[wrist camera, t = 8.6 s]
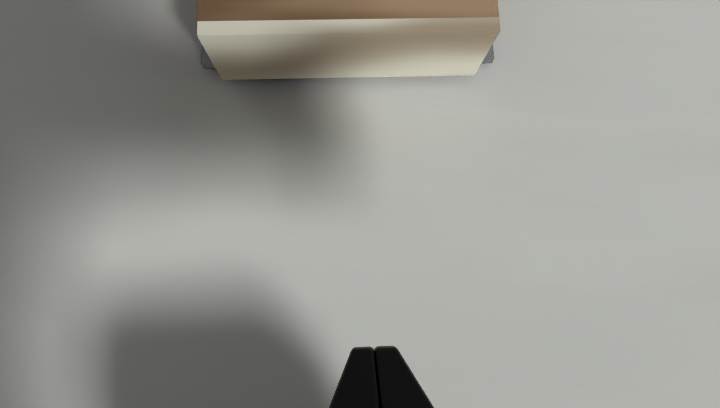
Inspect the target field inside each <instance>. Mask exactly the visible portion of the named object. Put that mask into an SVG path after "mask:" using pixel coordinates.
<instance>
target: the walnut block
mask: <svg viewBox="0 0 720 408" xmlns="http://www.w3.org/2000/svg"><path fill="white" fill-rule="evenodd" d="M499 32H500V22H499V12H498V1H497V0H198V15H197V36H198V38H199V40H200V42H201V44H202V45H203V47H204V49H205V51H206V53H207V54H208V56H209V58H210V60H211V61H212V63H213V65H214V67H215V69H216V70H217V72H218V74H219V76H220V78H221V79H222V80H238V79H294V78H350V77H405V76H461V75H475V74H476V72H477V70H478V68H479V67H480V65H481V63H482V62H483V60H484V58H485V56H486V55H487V53H488V51H489V49H490V48H491V46H492V44H493V43H494V41H495V39H496V37H497V36H498V34H499Z"/></svg>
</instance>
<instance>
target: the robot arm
mask: <svg viewBox="0 0 720 408" xmlns="http://www.w3.org/2000/svg"><path fill="white" fill-rule="evenodd" d="M329 408H434V407H433V405H432V404H431V402H430V401H429V399H428V397H427V396H426V394H425V392H424V391H423V389H422V388H421V386H420V384H419V383H418V381H417V380H416V378H415V376H414V375H413V373H412V371H411V370H410V368H409V367H408V365H407V363H406V362H405V360H404V359H403V357H402V355H401V354H400V352H399V351H398V349H397V348H396V347H394V346H378V347H376V348H375V349H373V348H372V347H355V348H353V349H352V350H351V352H350V355H349V357H348V360H347V363H346V365H345V368H344V370H343V373H342V375H341V378H340V381H339V383H338V386H337V388H336V391H335V393H334V396H333V399H332V401H331V404H330V406H329Z"/></svg>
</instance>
